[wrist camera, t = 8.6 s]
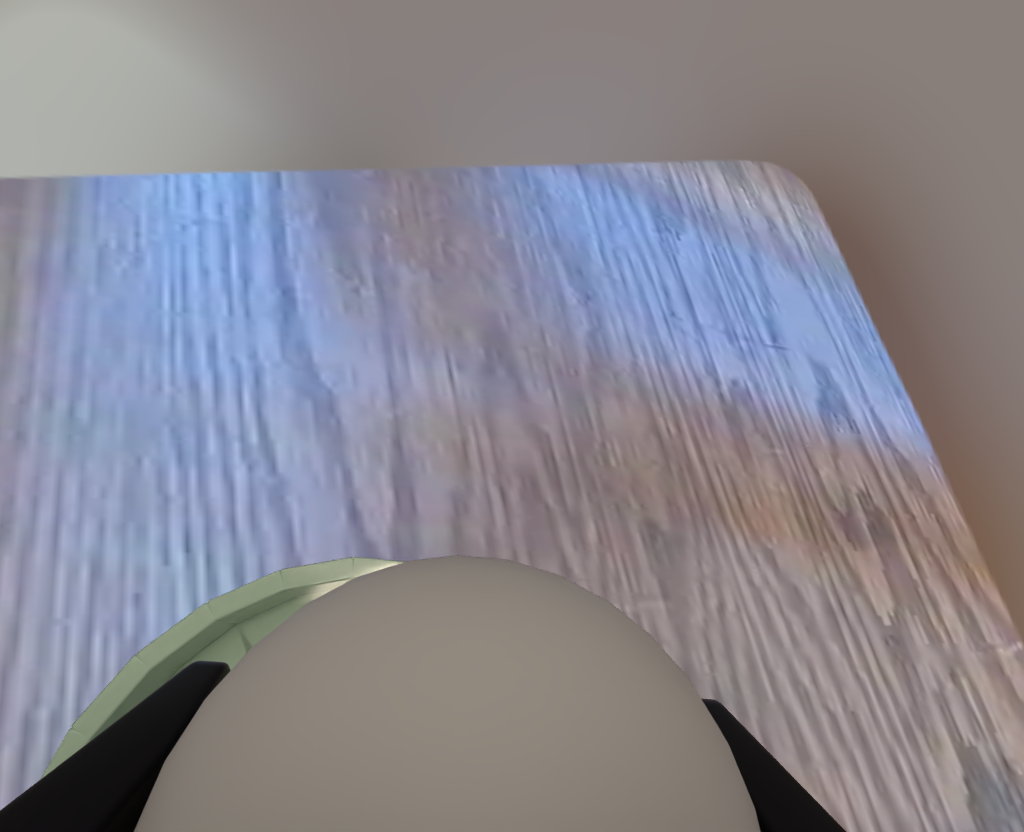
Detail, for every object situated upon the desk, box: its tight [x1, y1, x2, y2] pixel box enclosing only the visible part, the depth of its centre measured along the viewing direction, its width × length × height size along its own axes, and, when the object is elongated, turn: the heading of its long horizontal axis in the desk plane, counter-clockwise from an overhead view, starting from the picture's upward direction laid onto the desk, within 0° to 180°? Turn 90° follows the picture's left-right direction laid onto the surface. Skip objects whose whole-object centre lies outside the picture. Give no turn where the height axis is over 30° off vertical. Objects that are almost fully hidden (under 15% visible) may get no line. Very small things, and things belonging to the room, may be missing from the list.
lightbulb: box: [134, 555, 761, 832], centre depth 8 cm, size 6×6×11 cm
